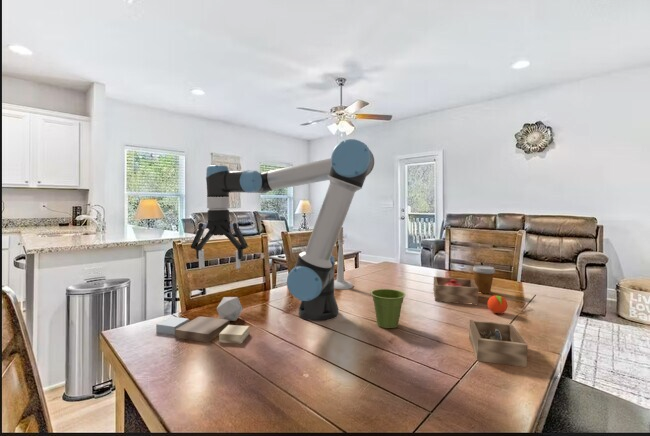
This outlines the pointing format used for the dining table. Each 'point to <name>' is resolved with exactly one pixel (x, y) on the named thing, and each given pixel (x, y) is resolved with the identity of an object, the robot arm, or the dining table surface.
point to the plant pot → (387, 306)
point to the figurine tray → (498, 344)
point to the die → (229, 308)
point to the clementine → (497, 304)
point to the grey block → (170, 325)
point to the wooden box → (455, 290)
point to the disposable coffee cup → (483, 277)
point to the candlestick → (341, 267)
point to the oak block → (234, 334)
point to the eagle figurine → (496, 337)
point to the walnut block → (202, 329)
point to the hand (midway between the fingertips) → (219, 268)
